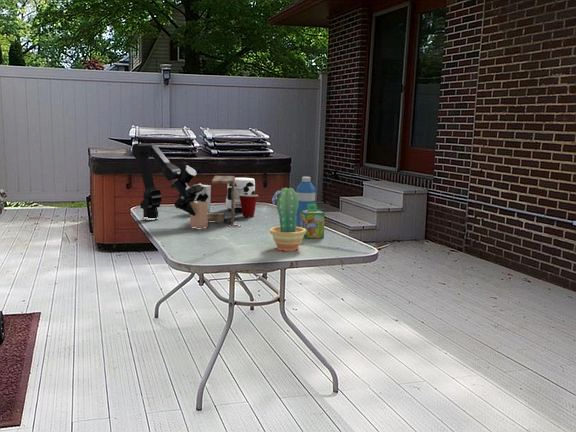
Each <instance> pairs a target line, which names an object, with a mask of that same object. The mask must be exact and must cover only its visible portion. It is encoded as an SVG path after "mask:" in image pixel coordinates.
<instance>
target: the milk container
mask: <svg viewBox="0 0 576 432" xmlns="http://www.w3.org/2000/svg"><path fill="white" fill-rule="evenodd" d="M226 188H227V195H226V198H225V207H226V209H227V210H229V211H231V184H227V187H226ZM255 192H256V181H255V178H252V177H235V212H242V208H241V201H240V197H239V195H241V194H250V195H256V193H255Z"/></svg>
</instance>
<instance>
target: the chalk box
mask: <svg viewBox="0 0 576 432" xmlns="http://www.w3.org/2000/svg"><path fill="white" fill-rule="evenodd" d="M317 204H318V203H315V204H307V210H301V211H300V227H301V228H305V229H306V230H307V231H306V234H305V235H304V237H303V239H324V238H325V235H324V234H325V221H326V220H325V217H326V216H325V215H326V213H325V212H323V211H322V210H319V209H318V205H317ZM311 206H313V207H314V209H313V210H311V209H310V207H311Z"/></svg>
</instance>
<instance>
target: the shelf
mask: <svg viewBox="0 0 576 432" xmlns="http://www.w3.org/2000/svg"><path fill="white" fill-rule="evenodd" d="M235 176H236V175H214V176H213V178H212V180H211V184H223V185H224V184H225V185H226V184H227V185H228V184H231V210H230V213H231V218H230V219H231V220H230V221H231V223H230V225H232V226H234V225H235V223H234V222H235V216H236V214H235V213H236V211H235V178H236V177H235ZM225 214H226V213H225V212H221V213H208V214H207V221H215V222H214V223H225V220H224V219H226V215H225Z"/></svg>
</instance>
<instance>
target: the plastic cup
mask: <svg viewBox="0 0 576 432" xmlns="http://www.w3.org/2000/svg"><path fill="white" fill-rule="evenodd" d="M239 197H240V201H241V208H242V211H241V213H242V217H243V216H244V218H253V217H254V216H255V211H256V207H257V201H258V197H259V195H258V194H255V195H250V194H241V195H239Z"/></svg>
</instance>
